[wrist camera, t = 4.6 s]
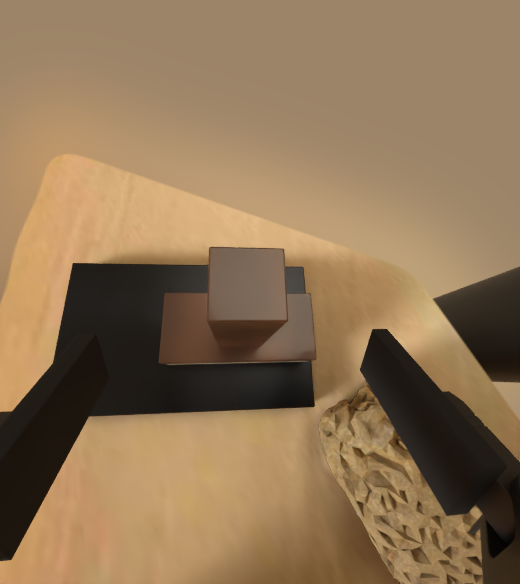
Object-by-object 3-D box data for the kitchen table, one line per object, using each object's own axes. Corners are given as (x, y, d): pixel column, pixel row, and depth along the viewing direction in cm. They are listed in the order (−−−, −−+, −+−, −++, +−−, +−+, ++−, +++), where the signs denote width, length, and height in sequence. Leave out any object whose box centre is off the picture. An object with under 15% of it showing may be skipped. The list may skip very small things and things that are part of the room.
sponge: (289, 433, 22) (497, 777, 15) (320, 422, 16) (724, 1028, 8) (387, 359, 28) (578, 581, 20) (440, 327, 21) (754, 639, 13)
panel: (299, 272, 26) (303, 266, 24) (309, 404, 22) (315, 407, 21) (82, 269, 24) (72, 262, 22) (54, 415, 20) (41, 418, 19)
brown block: (301, 303, 23) (374, 229, 11) (305, 361, 22) (395, 347, 10) (173, 302, 22) (104, 220, 10) (168, 364, 21) (82, 352, 9)
